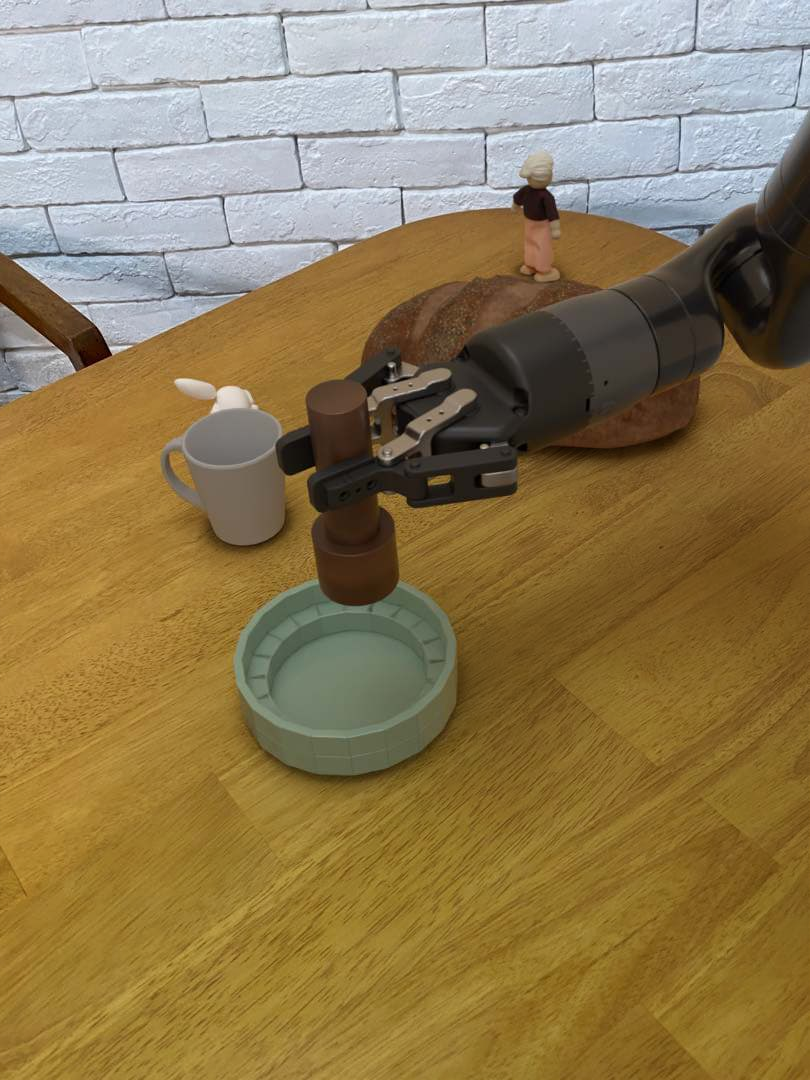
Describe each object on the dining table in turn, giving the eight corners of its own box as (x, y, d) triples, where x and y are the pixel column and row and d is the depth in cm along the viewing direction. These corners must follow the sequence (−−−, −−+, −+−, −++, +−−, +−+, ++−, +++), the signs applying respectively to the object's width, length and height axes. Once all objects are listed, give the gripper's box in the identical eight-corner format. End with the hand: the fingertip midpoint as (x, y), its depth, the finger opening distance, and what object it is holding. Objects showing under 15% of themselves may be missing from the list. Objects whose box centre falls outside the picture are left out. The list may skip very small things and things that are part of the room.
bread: (688, 477, 90) (704, 354, 83) (340, 438, 97) (326, 322, 90) (701, 371, 101) (717, 255, 94) (388, 343, 108) (379, 233, 101)
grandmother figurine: (577, 276, 116) (582, 155, 108) (552, 290, 114) (555, 168, 106) (521, 253, 120) (522, 136, 112) (497, 266, 119) (496, 148, 110)
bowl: (499, 718, 73) (499, 672, 70) (304, 820, 68) (295, 774, 65) (389, 592, 82) (385, 546, 79) (211, 674, 77) (199, 628, 74)
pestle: (414, 585, 66) (399, 401, 58) (342, 618, 65) (315, 434, 56) (374, 540, 69) (354, 360, 61) (305, 571, 68) (274, 390, 59)
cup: (281, 560, 86) (265, 471, 80) (158, 548, 88) (134, 460, 82) (308, 497, 91) (295, 410, 86) (192, 487, 93) (172, 401, 88)
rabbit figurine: (280, 428, 99) (207, 431, 93) (255, 451, 101) (183, 455, 95) (254, 370, 100) (181, 370, 94) (231, 394, 103) (158, 395, 97)
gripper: (490, 266, 68) (229, 359, 62) (641, 370, 59) (351, 491, 53) (492, 371, 73) (250, 466, 67) (631, 483, 64) (365, 605, 58)
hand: (296, 476), depth 60 cm, fingers closed on pestle, 3 cm apart
